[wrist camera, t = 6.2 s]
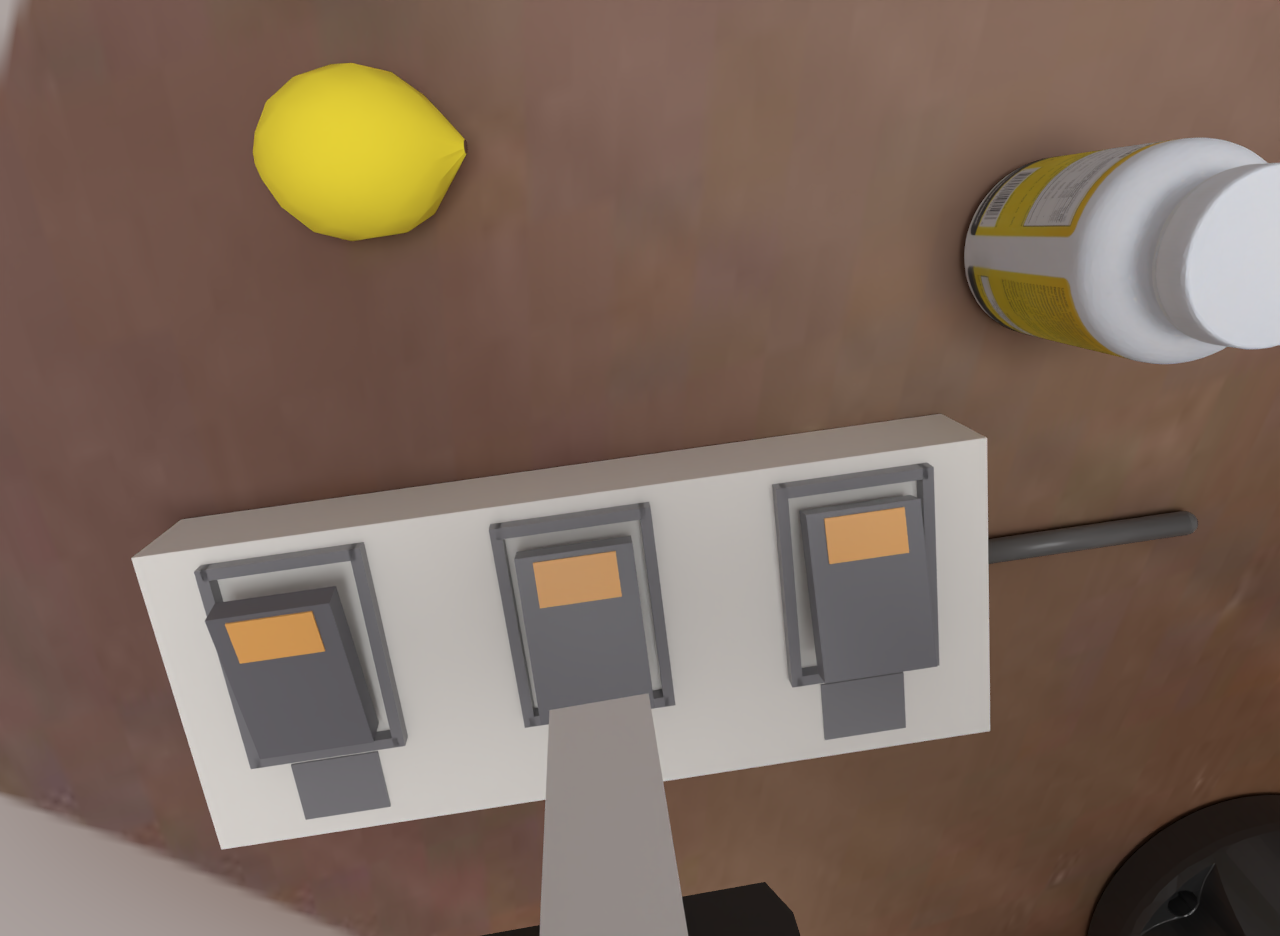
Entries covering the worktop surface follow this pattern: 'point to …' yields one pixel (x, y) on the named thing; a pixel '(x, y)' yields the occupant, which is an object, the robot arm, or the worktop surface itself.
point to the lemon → (356, 152)
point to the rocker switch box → (670, 601)
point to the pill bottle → (1135, 250)
